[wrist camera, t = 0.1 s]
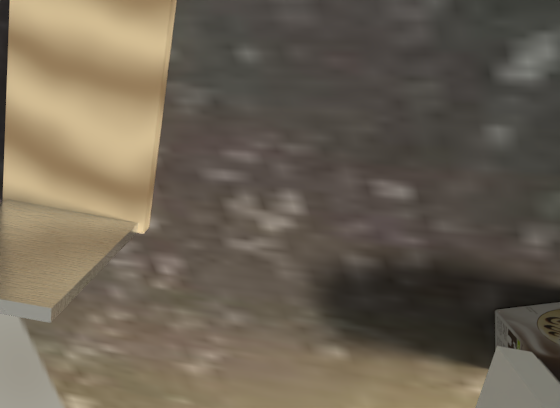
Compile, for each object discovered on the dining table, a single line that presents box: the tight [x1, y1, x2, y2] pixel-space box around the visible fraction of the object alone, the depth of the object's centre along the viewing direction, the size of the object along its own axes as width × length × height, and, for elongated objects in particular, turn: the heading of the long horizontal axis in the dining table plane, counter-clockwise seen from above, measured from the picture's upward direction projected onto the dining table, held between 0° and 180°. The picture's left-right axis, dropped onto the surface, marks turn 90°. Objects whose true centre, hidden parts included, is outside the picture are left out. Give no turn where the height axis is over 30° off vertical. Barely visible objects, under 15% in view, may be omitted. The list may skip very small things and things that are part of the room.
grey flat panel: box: [0, 199, 138, 323], centre depth 31 cm, size 1×10×14 cm, turn 79°
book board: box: [3, 0, 176, 234], centre depth 35 cm, size 24×11×2 cm, turn 169°
